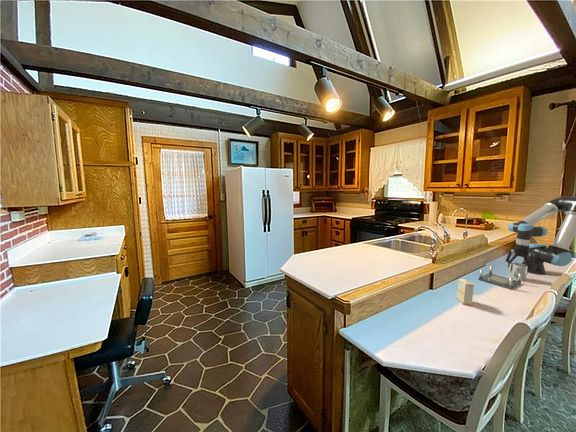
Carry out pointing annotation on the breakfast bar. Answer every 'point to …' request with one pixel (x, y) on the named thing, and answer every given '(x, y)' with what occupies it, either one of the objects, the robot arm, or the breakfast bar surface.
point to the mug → (518, 271)
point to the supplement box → (465, 291)
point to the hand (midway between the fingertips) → (517, 273)
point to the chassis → (499, 279)
